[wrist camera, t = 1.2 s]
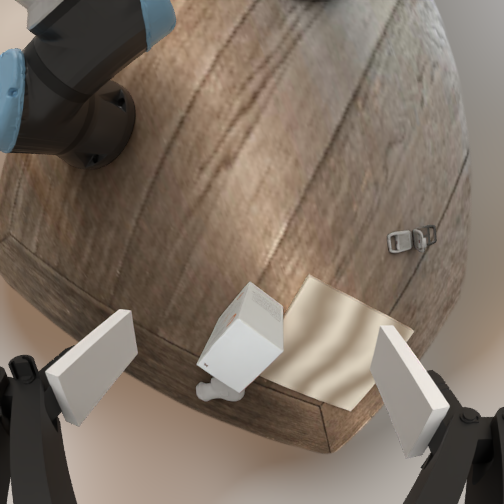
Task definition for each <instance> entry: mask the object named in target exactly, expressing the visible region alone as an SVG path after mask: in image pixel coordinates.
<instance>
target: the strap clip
mask: <svg viewBox="0 0 504 504" xmlns="http://www.w3.org/2000/svg"><path fill="white" fill-rule="evenodd" d="M429 227H433V229H434V241H432V242H430V233H429ZM394 235H395V244H396V250H392V248H391V239H390V237H391V236H394ZM413 236H414V246H415V248H416V249H417V250H418V251H419V252H425V248H426V247H427V245H431V244H434V243H435V242H436V241H437V239H436V228H435V226H434V225H426V226H423V227H419V228H416V229H414V230H413ZM387 243H388V249H389V252H391V253H399V252H402V251H406V250H409V249H411V247H413V244H412V235H411V232H410V231H408V230H404V231H396V232H392V233H390V234H388V235H387Z"/></svg>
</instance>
